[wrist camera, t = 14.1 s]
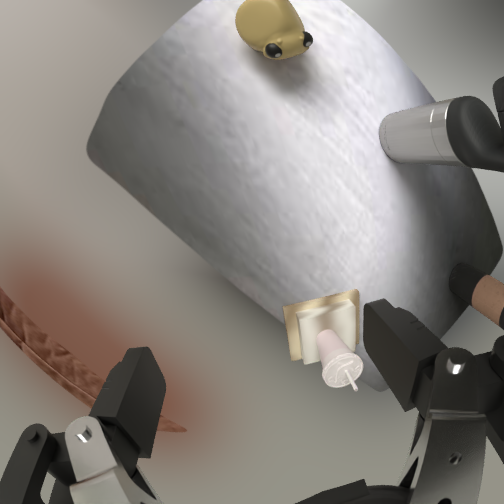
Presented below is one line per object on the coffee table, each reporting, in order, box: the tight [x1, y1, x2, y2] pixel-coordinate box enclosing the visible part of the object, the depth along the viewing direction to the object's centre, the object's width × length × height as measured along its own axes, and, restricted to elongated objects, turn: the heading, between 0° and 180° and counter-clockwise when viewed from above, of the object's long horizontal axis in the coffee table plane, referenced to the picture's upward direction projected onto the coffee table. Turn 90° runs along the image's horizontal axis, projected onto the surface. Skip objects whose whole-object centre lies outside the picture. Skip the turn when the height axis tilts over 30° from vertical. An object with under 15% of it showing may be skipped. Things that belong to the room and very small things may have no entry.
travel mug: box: [449, 263, 504, 330], centre depth 39 cm, size 8×8×20 cm
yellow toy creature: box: [235, 0, 313, 60], centre depth 29 cm, size 10×12×11 cm
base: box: [283, 289, 359, 365], centre depth 47 cm, size 14×12×4 cm
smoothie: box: [316, 329, 363, 391], centre depth 38 cm, size 6×6×14 cm
